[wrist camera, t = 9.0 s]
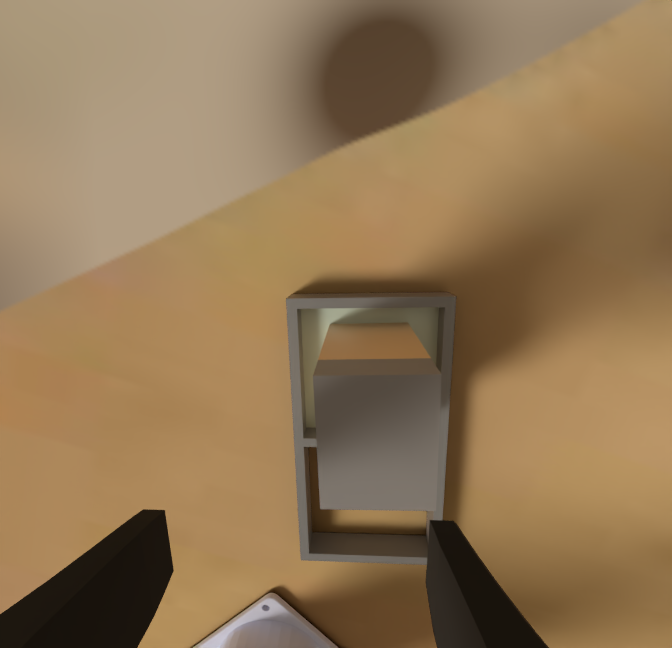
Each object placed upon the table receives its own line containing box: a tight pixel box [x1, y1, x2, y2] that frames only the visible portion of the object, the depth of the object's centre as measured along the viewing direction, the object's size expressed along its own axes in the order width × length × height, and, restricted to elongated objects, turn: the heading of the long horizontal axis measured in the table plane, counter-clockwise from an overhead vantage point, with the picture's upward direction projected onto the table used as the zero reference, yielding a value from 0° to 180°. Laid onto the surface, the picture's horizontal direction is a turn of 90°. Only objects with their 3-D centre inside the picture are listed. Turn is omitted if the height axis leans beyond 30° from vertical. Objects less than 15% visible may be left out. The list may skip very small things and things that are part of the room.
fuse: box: [313, 322, 442, 511], centre depth 15 cm, size 5×4×7 cm
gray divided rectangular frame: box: [286, 292, 456, 565], centre depth 18 cm, size 16×8×2 cm, turn 1°
